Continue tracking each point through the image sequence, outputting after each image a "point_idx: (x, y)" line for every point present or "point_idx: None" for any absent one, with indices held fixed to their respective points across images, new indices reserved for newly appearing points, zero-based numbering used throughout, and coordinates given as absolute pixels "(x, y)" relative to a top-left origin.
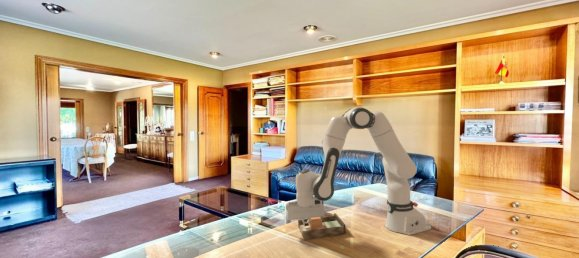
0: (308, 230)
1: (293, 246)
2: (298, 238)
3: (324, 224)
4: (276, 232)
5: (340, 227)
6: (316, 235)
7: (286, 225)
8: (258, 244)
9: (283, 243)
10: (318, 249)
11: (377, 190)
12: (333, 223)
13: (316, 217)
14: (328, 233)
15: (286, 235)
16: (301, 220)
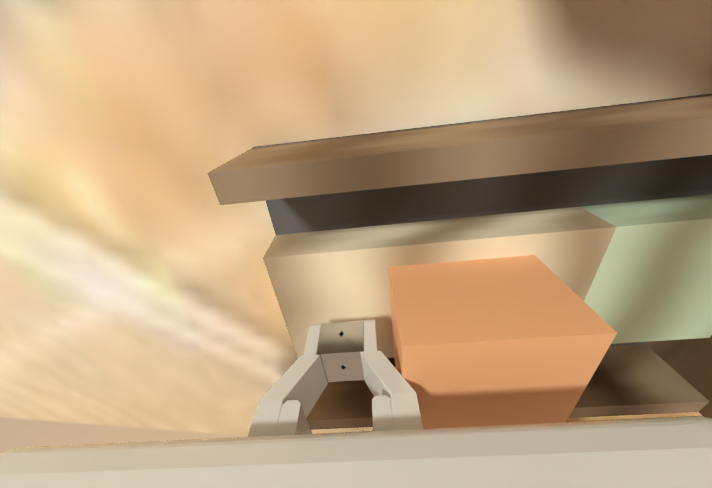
0: (355, 418)
1: (255, 406)
2: (278, 349)
3: (574, 282)
4: (40, 245)
5: (663, 410)
6: None
7: (69, 79)
8: (12, 372)
9: (183, 381)
10: None
11: None
12: (695, 278)
13: (539, 354)
14: None
15: (169, 304)
16: (278, 196)
